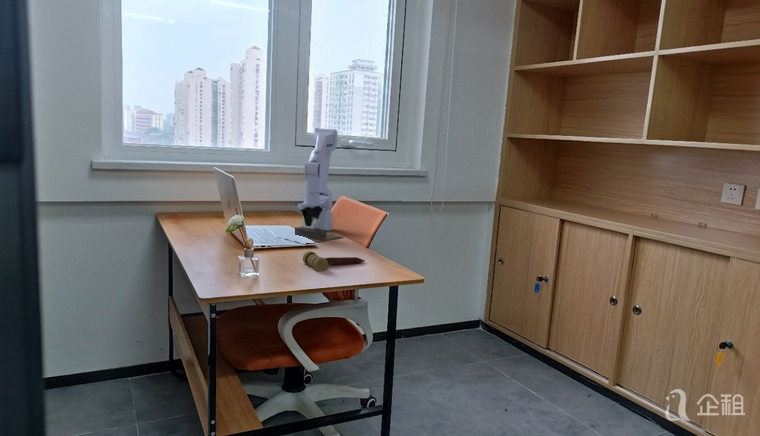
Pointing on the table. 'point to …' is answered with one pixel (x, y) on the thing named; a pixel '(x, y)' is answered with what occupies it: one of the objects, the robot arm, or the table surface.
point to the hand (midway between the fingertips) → (310, 225)
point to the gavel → (328, 261)
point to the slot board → (316, 234)
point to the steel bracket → (313, 226)
